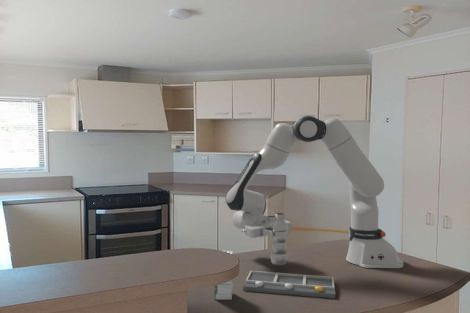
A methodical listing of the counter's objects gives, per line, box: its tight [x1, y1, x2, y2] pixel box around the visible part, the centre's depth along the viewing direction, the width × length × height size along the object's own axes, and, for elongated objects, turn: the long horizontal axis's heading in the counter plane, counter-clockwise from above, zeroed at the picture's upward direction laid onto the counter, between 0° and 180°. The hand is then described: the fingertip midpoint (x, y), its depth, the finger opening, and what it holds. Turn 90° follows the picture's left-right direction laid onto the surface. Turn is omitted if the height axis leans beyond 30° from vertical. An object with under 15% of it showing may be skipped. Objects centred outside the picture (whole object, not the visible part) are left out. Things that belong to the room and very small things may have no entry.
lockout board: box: [242, 270, 336, 299], centre depth 137 cm, size 30×14×3 cm, turn 78°
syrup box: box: [213, 250, 234, 301], centre depth 128 cm, size 6×6×14 cm
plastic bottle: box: [270, 212, 289, 266], centre depth 152 cm, size 6×7×20 cm
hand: (280, 232), depth 151 cm, fingers closed on plastic bottle, 6 cm apart
